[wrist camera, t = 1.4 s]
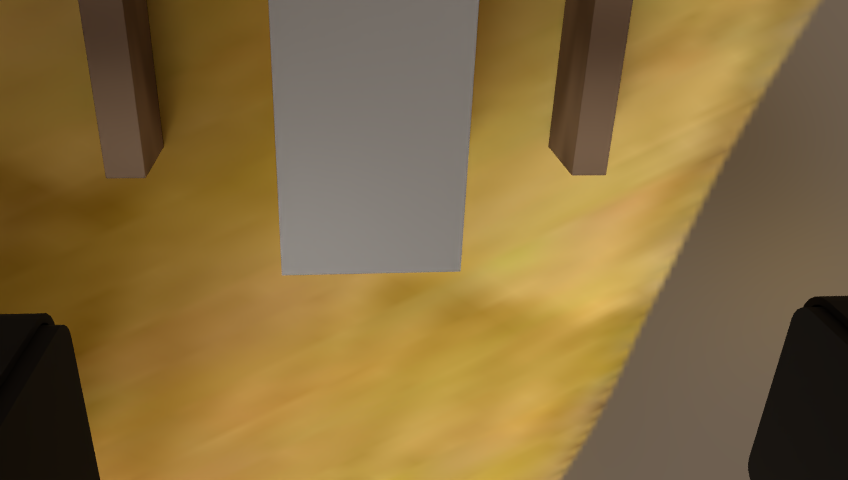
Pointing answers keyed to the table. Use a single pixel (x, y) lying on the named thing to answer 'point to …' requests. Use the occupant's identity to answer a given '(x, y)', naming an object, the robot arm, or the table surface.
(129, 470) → the table surface
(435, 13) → the grey rectangular block
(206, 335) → the table surface
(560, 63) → the bay
